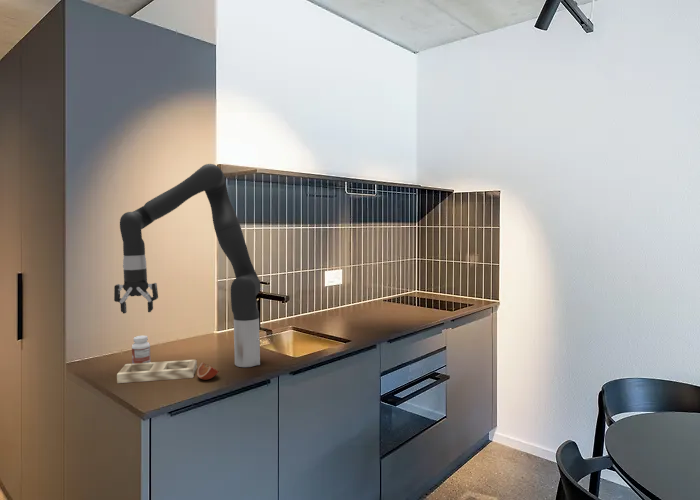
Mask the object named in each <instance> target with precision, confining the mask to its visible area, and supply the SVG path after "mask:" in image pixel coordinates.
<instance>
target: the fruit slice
mask: <svg viewBox="0 0 700 500" xmlns="http://www.w3.org/2000/svg"><path fill="white" fill-rule="evenodd" d="M218 373H219V370H217V369H216V368H214V367H212V366H211V365H209V364H207V363H204V362H202V361H201V362H200V364H199V366H197V369H196V375H197V378H199V379H201V380H203V381H204V380H205V381H206V380H207V381H208V380H211V379H212V378H214V377H215V376H216V375H217V374H218Z"/></svg>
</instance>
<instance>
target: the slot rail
mask: <svg viewBox="0 0 700 500" xmlns="http://www.w3.org/2000/svg"><path fill="white" fill-rule="evenodd" d="M197 369H198V361H197V359H184V360H183V359H182V360H181V359H180V360H169V361H168V360H167V361H153V362H152V361H151V362H150V363H135V364H132V363H125V364H124V365H123V367H122V368H121V369H120V370H119V371H118V373H116V383H117V384H123V383H124V384H126V383H127V384H128V383H139V382H152V381H166V380H180V379H181V380H182V379H194V377H195V374H196V372H197Z"/></svg>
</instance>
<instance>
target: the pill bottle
mask: <svg viewBox="0 0 700 500" xmlns="http://www.w3.org/2000/svg"><path fill="white" fill-rule="evenodd" d="M151 360H152V359H151V344H150V342H149V341H148V335H137V336H134V337H133V343H132V345H131V361H132V362H131V364H135V363H150V362H152V361H151Z"/></svg>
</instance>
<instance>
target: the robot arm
mask: <svg viewBox="0 0 700 500" xmlns="http://www.w3.org/2000/svg"><path fill="white" fill-rule="evenodd" d="M202 192H205V195H206V197H207V199H208V202H209V205H210V209H211V215H212V217H211V218H212V223H213V227H214V228H213V229H214V232H215V236H216V238H217V241H218V244H219V247H220V248H221V250H222V251H223V253H224V254H225V256H226V257H227V259H228V260H229V262H230V264H231V265H232V266H231V267H232V269H233V272H234V276H235V278H234V280H232V283H231V285H230V304H231V305H230V306H231V312H232V315H233V342H234V345H233V346H234V365H235V366H236V367H238V368H239V367H240V368H251V367H255V366H260V365H261V345H260V344H261V342H260V338H261V337H260V310H259V309H258V307H257V295H259V294H260V291H261V281H260V279H259V277H258V274H257V273H256V270H255V267H254V265H253V262H252V260H251V258H250V253H249V251H248V246H247V243H246V240H245V236H244V233H243V229H242V227H241V224H240V221H239V219H238V216H237V214H236V212H235V209H234V207H233V205H232V202H231V200H230V195H229V193H228V188H227V183H226V177H225V174H224V171H222V169H221V168H220V166H218V165H216V164H214V163H206V164H203V165H202V166H201V167H199V168H198V169H197V170H196V171H194V172H193V173H192V174H190V176H189V177H187V178H185V179H184V180H183V181H181V182H180V183H178V184H176V185H175V186H174V187H172V188H169V189H168V190H166V191H164V192H162V193H161V194H159V195H156V196H155V197H153V198H151V199H150V200H148V201H147V202H145V203H144V205H143V206H141V207H139V208H137V209H135V210H133V211H127V212H125V213H123V214H122V215H121V217H120V219H119V229H120V230H119V231H120V235H121V239H122V249H123V257H122V258H123V260H122V268H123V284H119V283H117V284H115V285H114V289H113V291H114V293H113V295H114V297H113V298H114V299H113V301H114V302H116V303H117V302H118V303H119V304H120V312H121V313H122V314H127V311H128V310H127V302H126V300H128V298H129V297H141V296H142V297H143V298H145V300H146V301H147V312H148V313H152V311H153V310H154V301H156V300H157V299H159V293H158V283H157V282H153V283H148V274H147V273H148V271H147V260H146V259H147V258H146V247H145V246H146V245H145V241H144V239H143V235H142V230H143V229H146V227H148V226H149V225H151V224H152V223H153V222H155V221H156V220H159V219H161V218H163V217H164V216H166V215H168V214H169V213H171V212H173V211H175V210H176V209H178V208H179V207H180V206H182V204H184V203H186V201H188V200H189V199H191V198H192V197H194V196H196V195H198V194H200V193H202ZM122 289H123V290H124V291H125V293H124V294H123V296H122V297H121V291H122ZM148 289H150V290H151V291H152V295H150V293H149V291H147V290H148Z"/></svg>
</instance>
